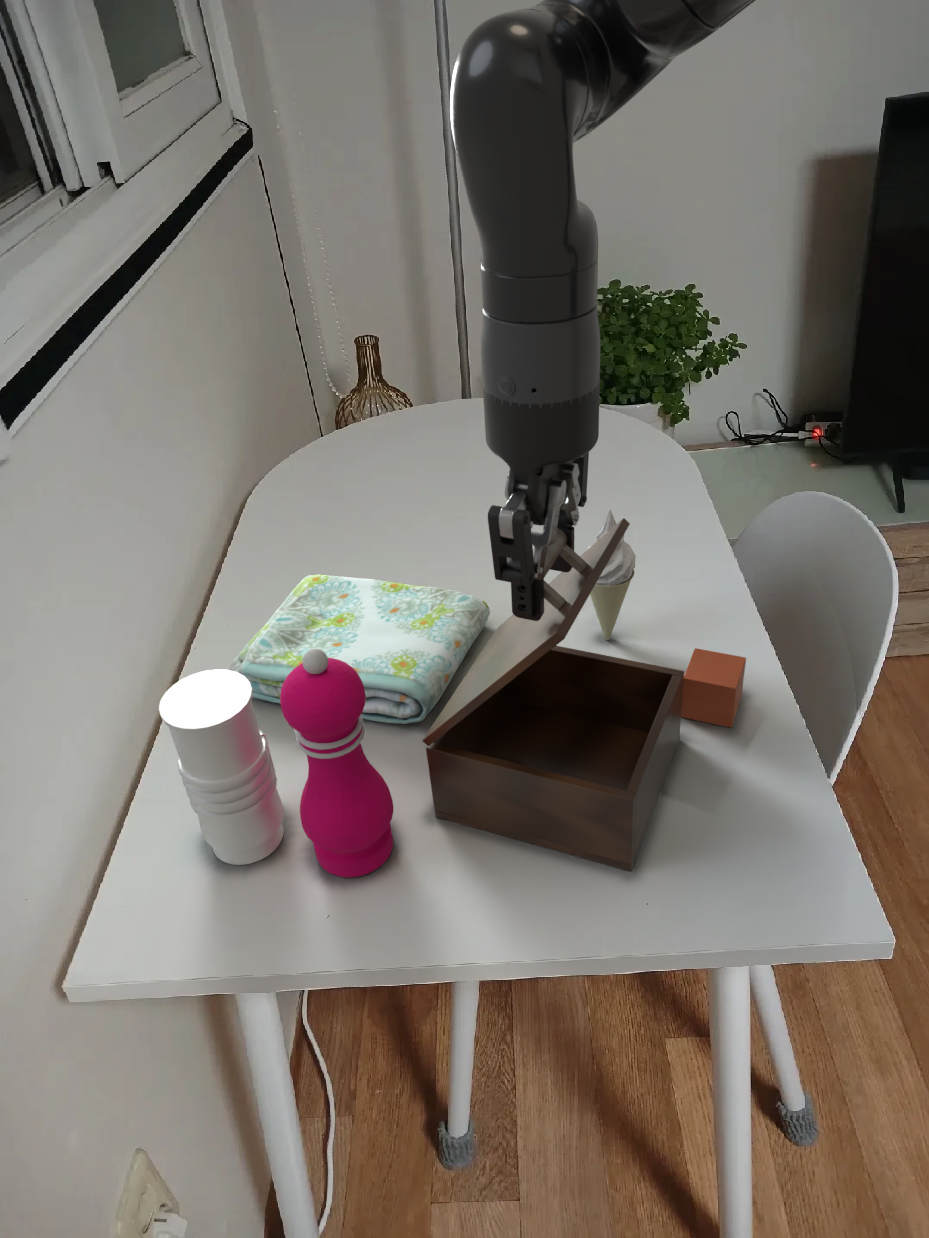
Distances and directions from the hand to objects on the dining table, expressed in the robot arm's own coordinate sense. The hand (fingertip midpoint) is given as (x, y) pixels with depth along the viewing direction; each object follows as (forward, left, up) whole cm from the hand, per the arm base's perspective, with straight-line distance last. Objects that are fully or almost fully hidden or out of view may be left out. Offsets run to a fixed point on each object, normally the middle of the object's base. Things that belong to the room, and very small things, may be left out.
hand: (544, 590), depth 71 cm
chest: (-1, 0, -19) cm, 19 cm away
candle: (+21, +15, -19) cm, 32 cm away
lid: (+1, 0, -4) cm, 5 cm away
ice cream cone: (+1, -20, -19) cm, 28 cm away
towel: (+23, -9, -19) cm, 31 cm away
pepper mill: (+12, +13, -19) cm, 26 cm away
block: (-11, -13, -19) cm, 25 cm away
